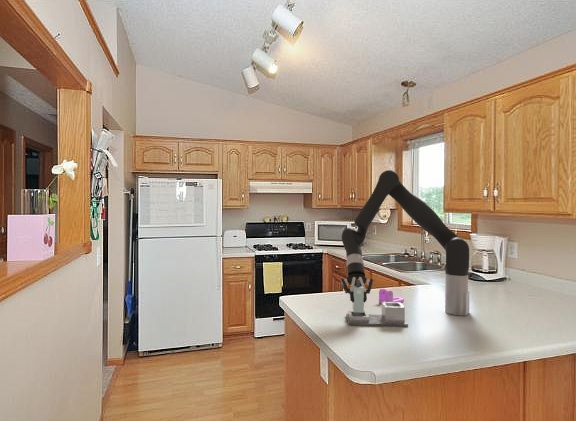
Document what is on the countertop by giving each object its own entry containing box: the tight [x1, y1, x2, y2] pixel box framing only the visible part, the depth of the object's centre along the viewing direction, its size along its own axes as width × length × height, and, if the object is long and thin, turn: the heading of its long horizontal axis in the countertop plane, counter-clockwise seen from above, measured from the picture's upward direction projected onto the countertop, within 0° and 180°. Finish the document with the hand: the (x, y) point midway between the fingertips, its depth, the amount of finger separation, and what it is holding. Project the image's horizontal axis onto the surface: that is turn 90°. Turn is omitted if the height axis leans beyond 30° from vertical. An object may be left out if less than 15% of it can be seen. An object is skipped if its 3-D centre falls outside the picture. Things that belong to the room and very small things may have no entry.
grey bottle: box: [352, 279, 365, 313], centre depth 149 cm, size 4×5×13 cm
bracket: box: [378, 287, 405, 304], centre depth 178 cm, size 13×6×7 cm, turn 121°
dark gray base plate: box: [345, 302, 409, 328], centre depth 149 cm, size 23×12×7 cm, turn 86°
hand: (358, 301), depth 147 cm, fingers closed on grey bottle, 4 cm apart
